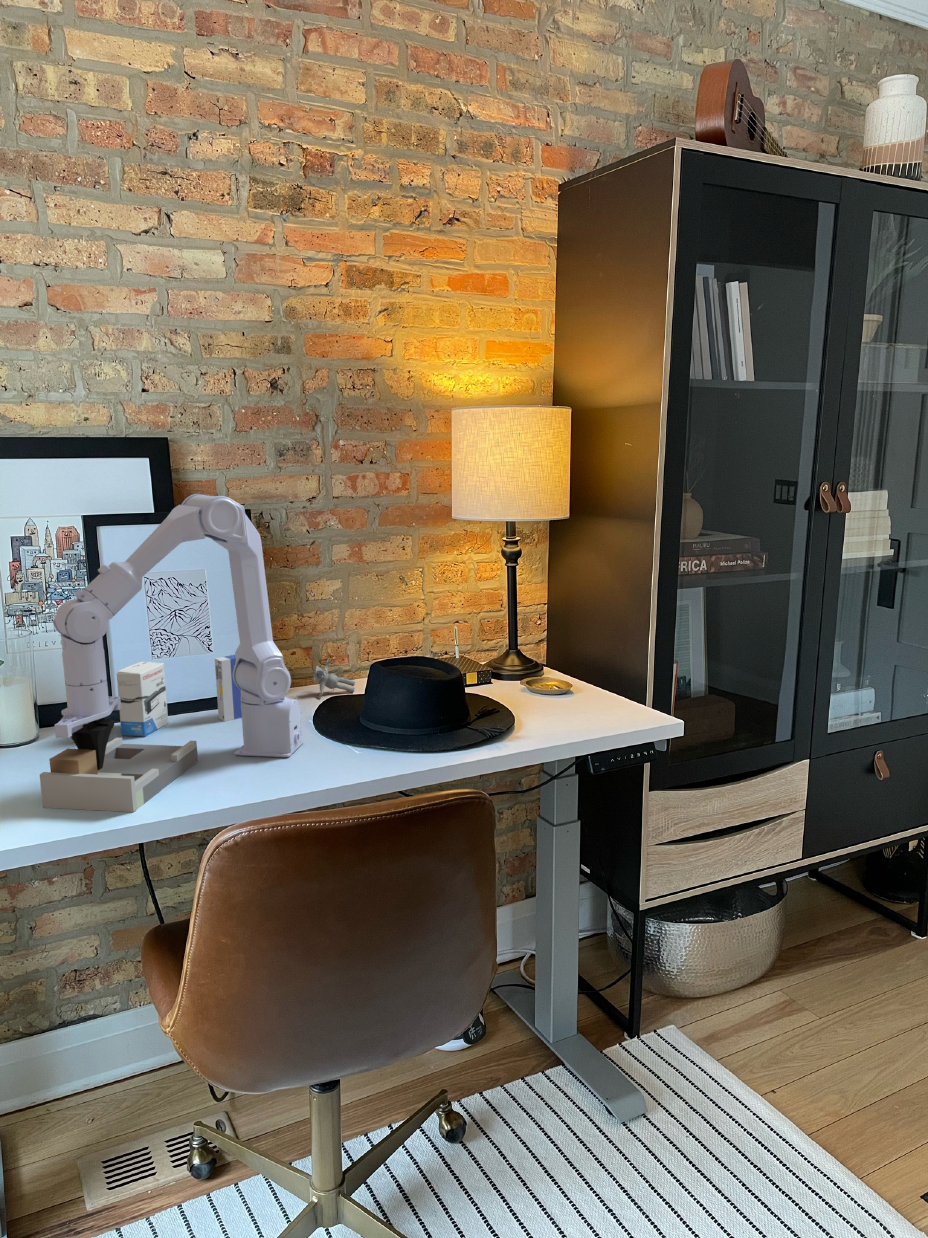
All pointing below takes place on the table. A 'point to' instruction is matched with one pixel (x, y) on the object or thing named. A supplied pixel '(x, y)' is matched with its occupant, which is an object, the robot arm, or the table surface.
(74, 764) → the walnut block
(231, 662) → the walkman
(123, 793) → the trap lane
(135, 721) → the ink box
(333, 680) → the grey toy figure
